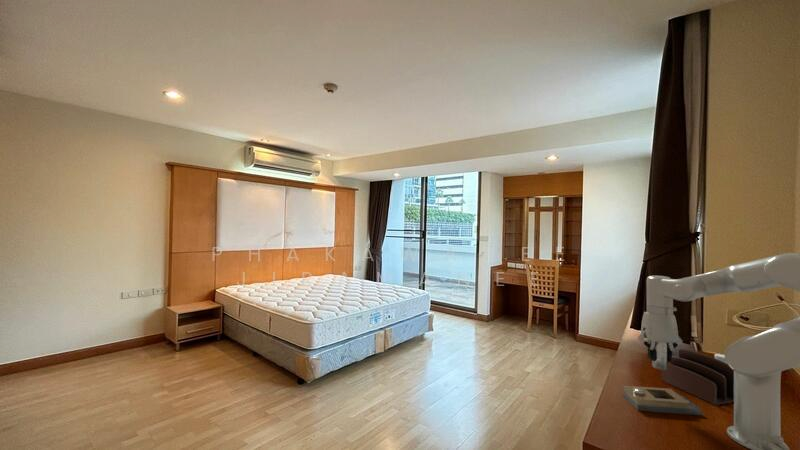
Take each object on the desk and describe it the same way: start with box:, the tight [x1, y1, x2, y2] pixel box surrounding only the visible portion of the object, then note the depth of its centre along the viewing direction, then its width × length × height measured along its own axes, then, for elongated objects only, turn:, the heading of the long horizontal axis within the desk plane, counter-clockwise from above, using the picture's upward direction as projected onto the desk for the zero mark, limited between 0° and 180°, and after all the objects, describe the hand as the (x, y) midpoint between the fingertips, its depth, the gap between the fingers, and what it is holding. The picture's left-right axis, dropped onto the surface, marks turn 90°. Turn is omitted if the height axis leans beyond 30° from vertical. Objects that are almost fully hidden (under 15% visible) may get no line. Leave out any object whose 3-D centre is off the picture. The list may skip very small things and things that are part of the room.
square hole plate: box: [622, 385, 703, 416], centre depth 119 cm, size 20×10×5 cm, turn 80°
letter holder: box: [661, 347, 734, 406], centre depth 129 cm, size 10×20×14 cm, turn 13°
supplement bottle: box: [713, 353, 727, 363], centre depth 139 cm, size 5×5×10 cm
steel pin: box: [651, 342, 668, 371], centre depth 119 cm, size 4×4×10 cm
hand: (659, 359), depth 119 cm, fingers closed on steel pin, 4 cm apart
